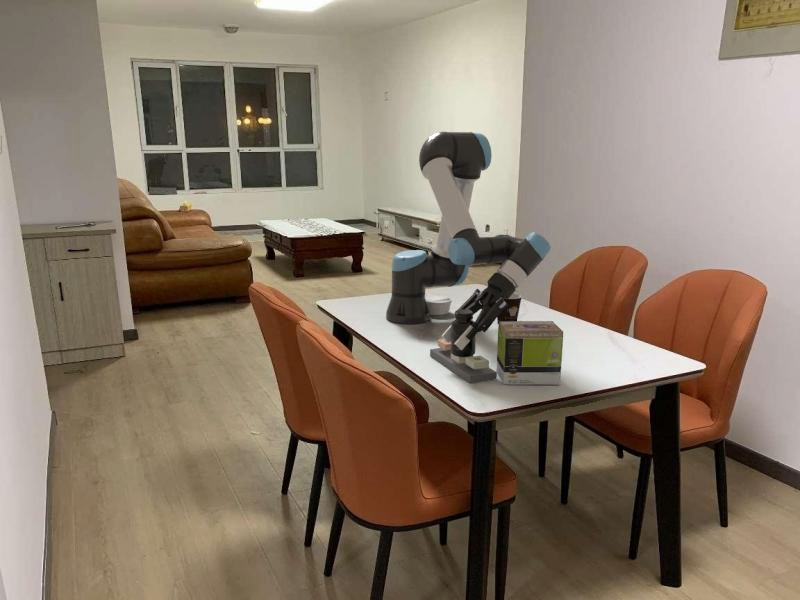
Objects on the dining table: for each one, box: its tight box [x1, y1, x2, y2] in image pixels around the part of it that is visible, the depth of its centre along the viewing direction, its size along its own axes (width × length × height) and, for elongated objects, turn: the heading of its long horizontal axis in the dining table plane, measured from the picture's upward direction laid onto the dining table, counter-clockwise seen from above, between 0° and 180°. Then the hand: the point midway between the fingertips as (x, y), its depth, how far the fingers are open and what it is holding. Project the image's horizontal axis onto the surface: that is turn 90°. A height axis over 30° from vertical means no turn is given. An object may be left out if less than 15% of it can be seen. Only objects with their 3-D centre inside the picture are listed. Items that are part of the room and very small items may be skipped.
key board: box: [429, 347, 498, 384], centre depth 175 cm, size 23×8×2 cm, turn 24°
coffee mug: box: [496, 292, 522, 326], centre depth 217 cm, size 12×9×10 cm
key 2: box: [465, 354, 490, 369], centre depth 167 cm, size 4×4×2 cm
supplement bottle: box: [450, 309, 477, 357], centre depth 172 cm, size 7×7×12 cm
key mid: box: [451, 353, 472, 364], centre depth 174 cm, size 4×4×2 cm
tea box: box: [496, 320, 564, 386], centre depth 166 cm, size 15×10×15 cm
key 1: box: [437, 338, 451, 351], centre depth 181 cm, size 4×4×2 cm
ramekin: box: [425, 294, 453, 316], centre depth 230 cm, size 11×11×5 cm
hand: (451, 342), depth 172 cm, fingers closed on supplement bottle, 7 cm apart
